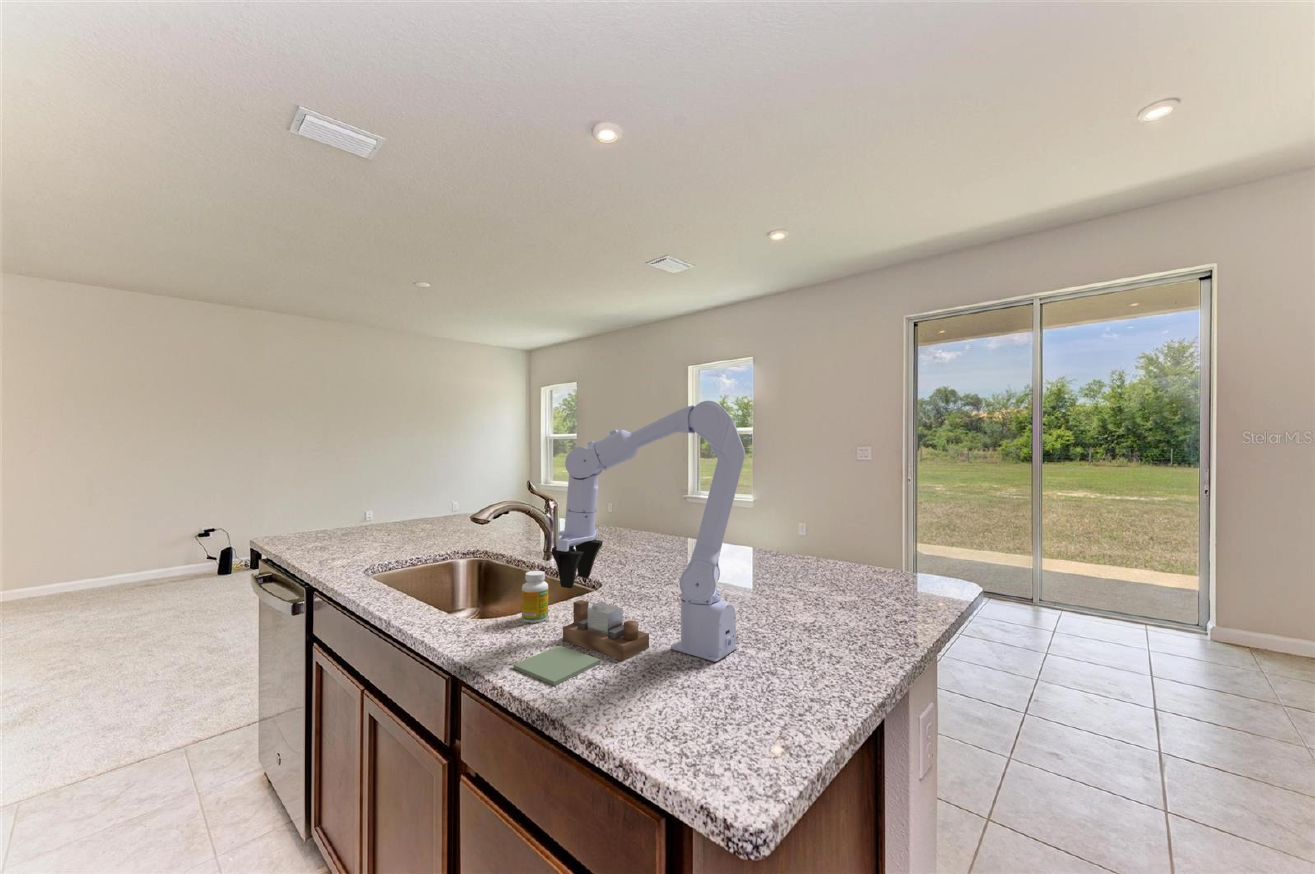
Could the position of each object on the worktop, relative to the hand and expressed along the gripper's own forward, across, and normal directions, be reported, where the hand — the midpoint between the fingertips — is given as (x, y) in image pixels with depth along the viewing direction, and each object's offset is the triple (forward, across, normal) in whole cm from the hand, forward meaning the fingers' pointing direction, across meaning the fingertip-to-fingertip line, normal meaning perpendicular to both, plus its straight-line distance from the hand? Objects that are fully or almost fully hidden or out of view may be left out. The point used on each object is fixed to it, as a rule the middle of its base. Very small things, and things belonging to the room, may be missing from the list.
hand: (575, 582), depth 95 cm
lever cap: (+8, +1, +7) cm, 10 cm away
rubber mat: (+10, +12, +3) cm, 16 cm away
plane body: (+10, +1, +7) cm, 12 cm away
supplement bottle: (+12, -7, -12) cm, 18 cm away
